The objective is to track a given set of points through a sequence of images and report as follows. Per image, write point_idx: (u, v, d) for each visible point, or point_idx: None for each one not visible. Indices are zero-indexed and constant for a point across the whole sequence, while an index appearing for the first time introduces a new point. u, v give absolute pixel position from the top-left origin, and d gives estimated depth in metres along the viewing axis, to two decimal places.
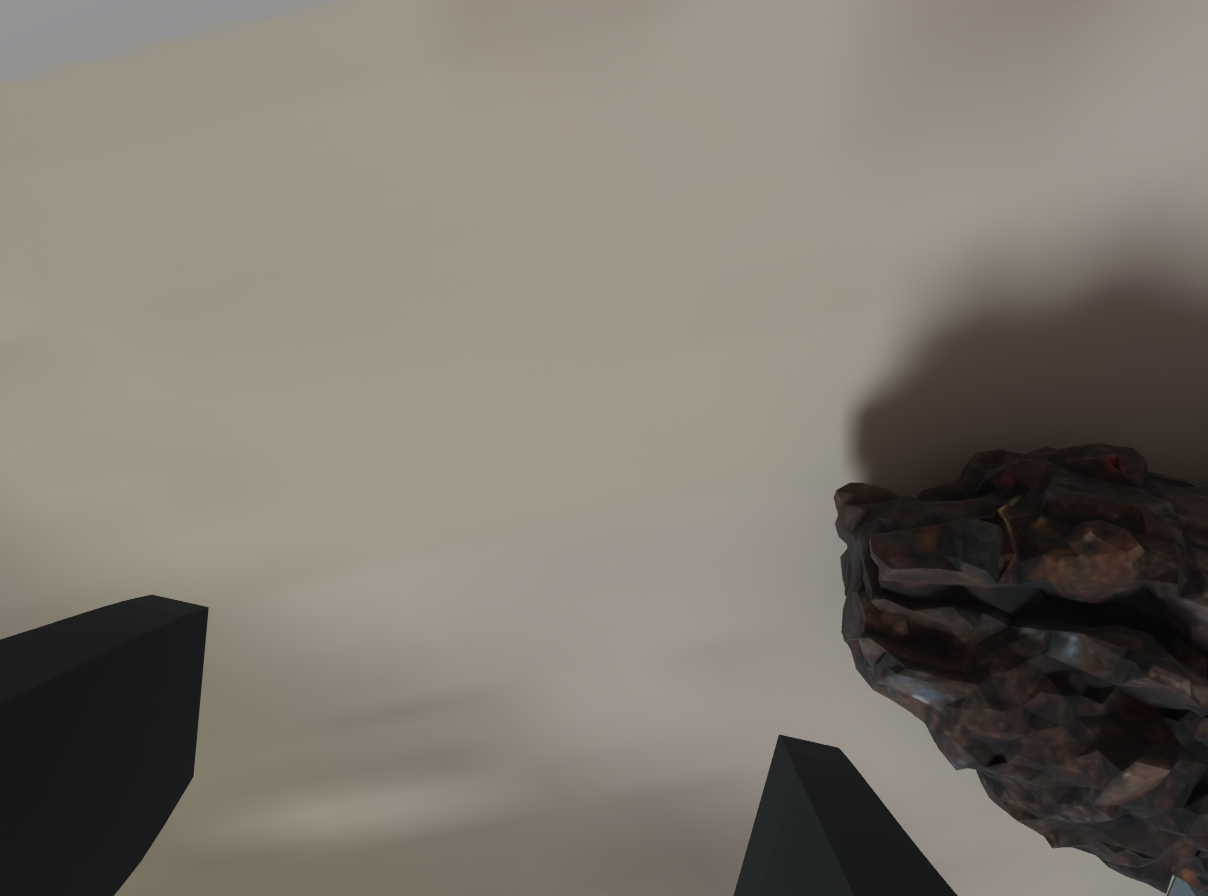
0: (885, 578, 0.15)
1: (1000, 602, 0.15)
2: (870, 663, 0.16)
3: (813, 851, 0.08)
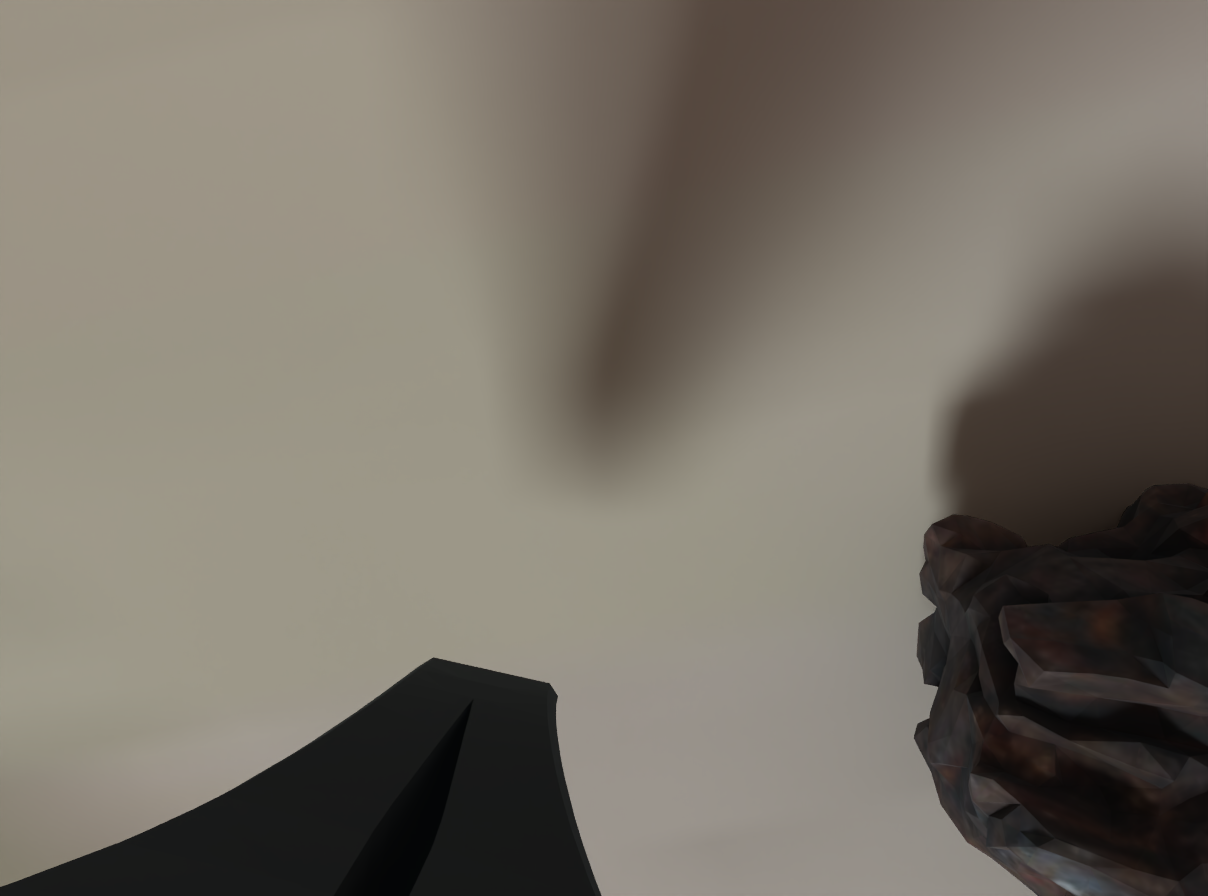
0: (1029, 683, 0.09)
1: None
2: (979, 812, 0.10)
3: None
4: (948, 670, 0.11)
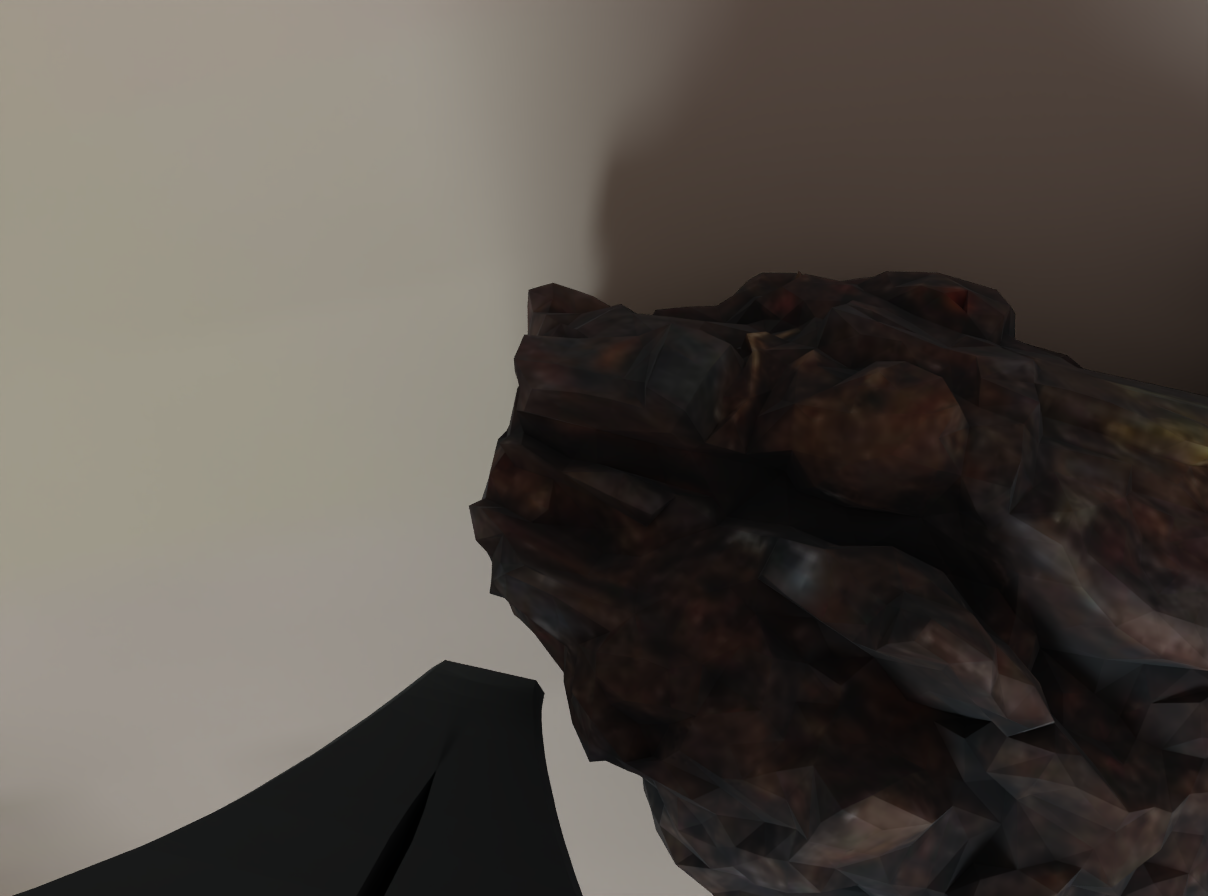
0: (523, 405, 0.09)
1: (711, 483, 0.09)
2: (492, 559, 0.09)
3: None
4: None
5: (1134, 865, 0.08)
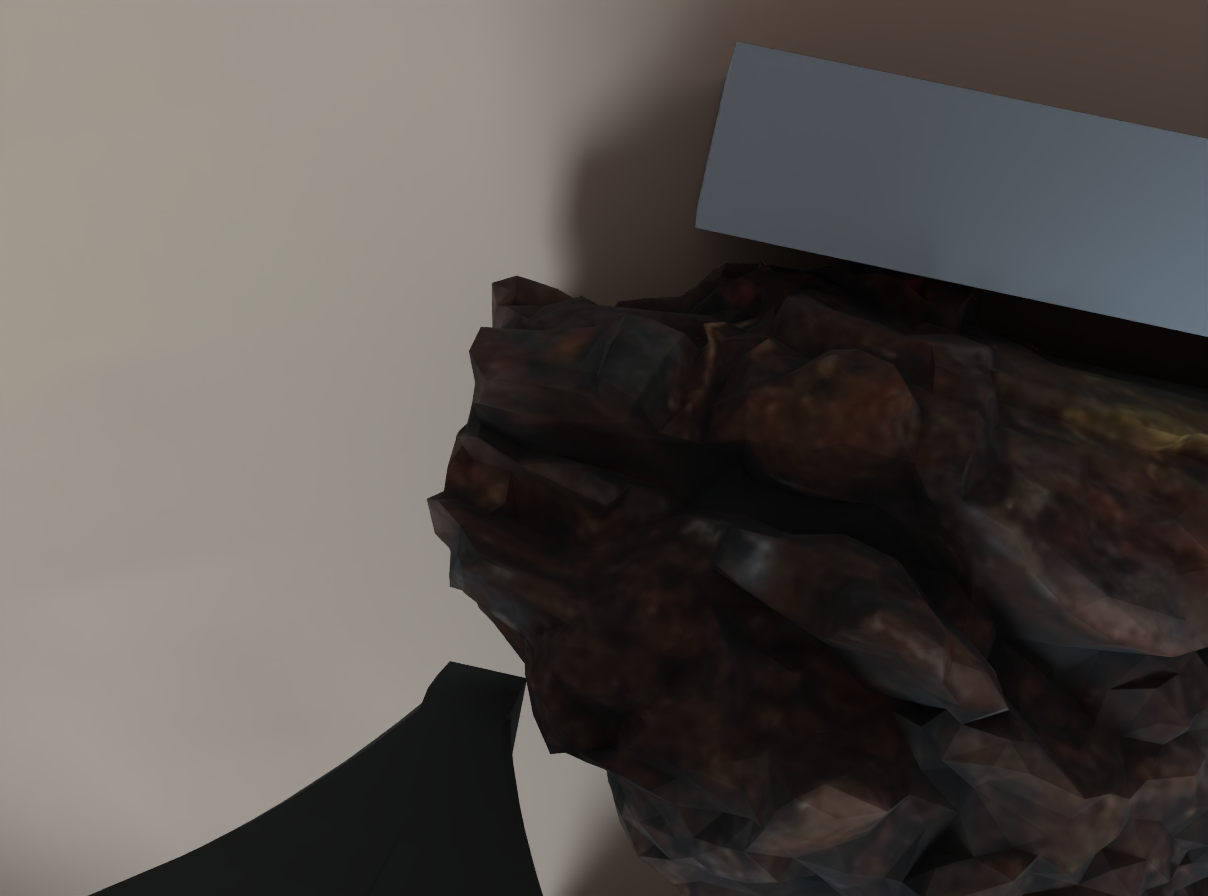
0: (479, 398, 0.09)
1: (666, 473, 0.09)
2: None
3: None
4: None
5: (1094, 852, 0.08)
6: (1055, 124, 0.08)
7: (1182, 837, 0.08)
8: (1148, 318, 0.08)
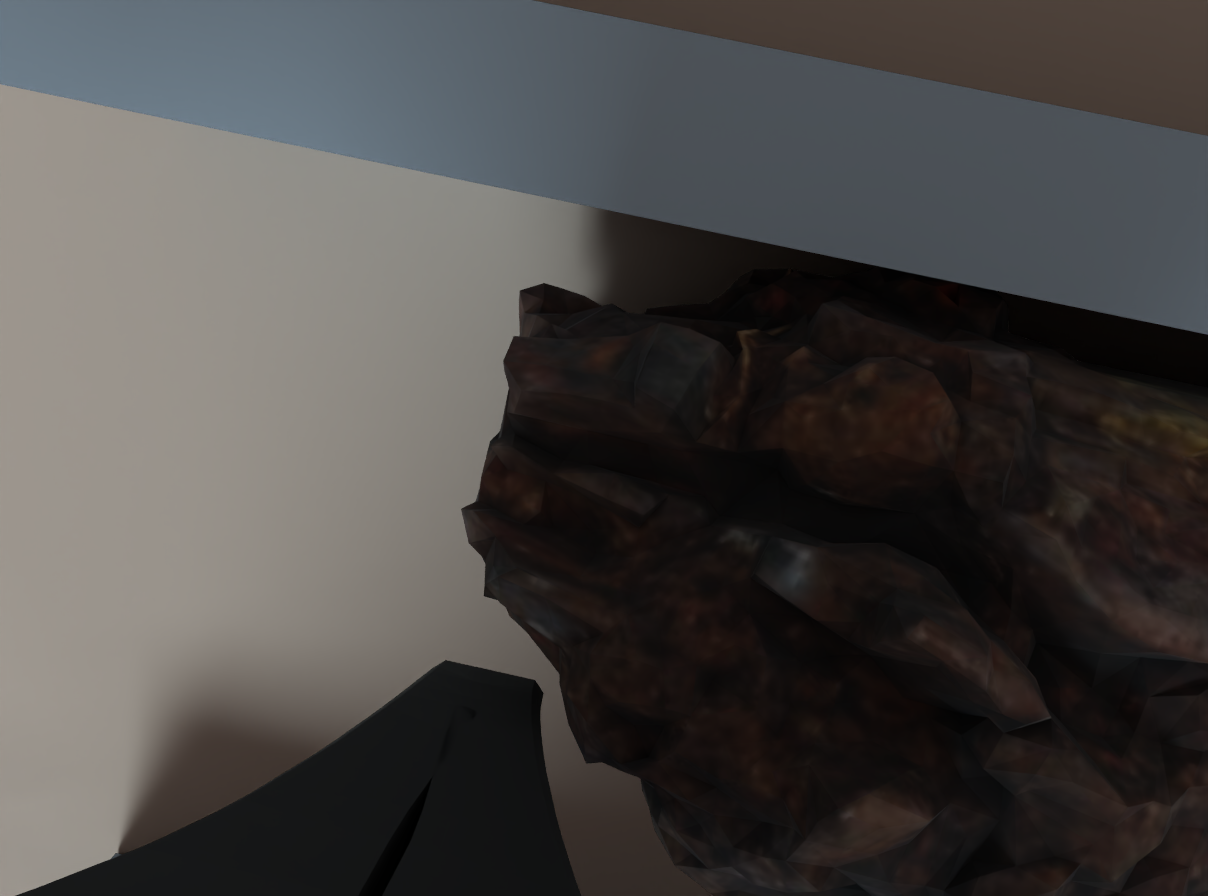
0: (514, 407, 0.09)
1: (703, 482, 0.09)
2: (486, 562, 0.09)
3: None
4: None
5: (1135, 859, 0.08)
6: None
7: None
8: (391, 159, 0.09)
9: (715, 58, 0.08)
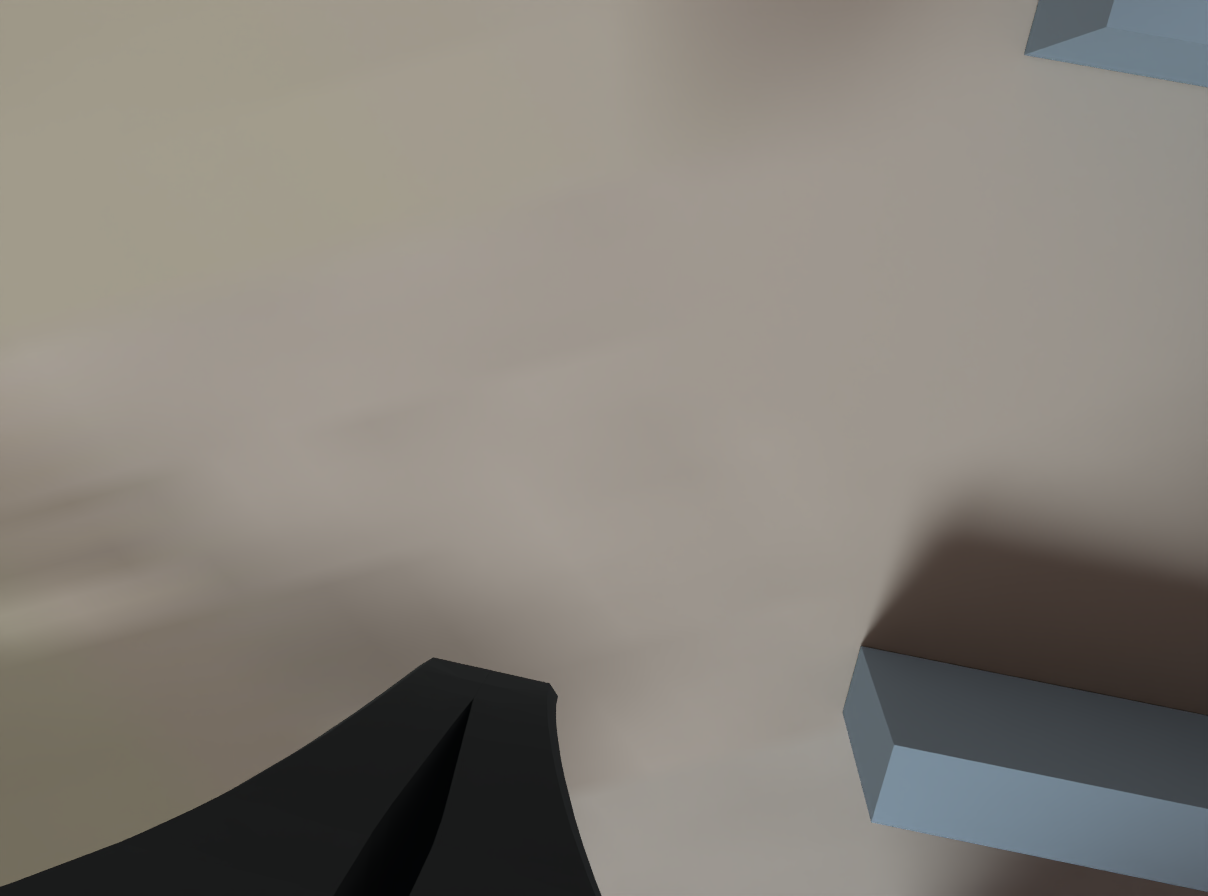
0: None
1: None
2: None
3: None
4: None
5: None
6: None
7: None
8: None
9: None
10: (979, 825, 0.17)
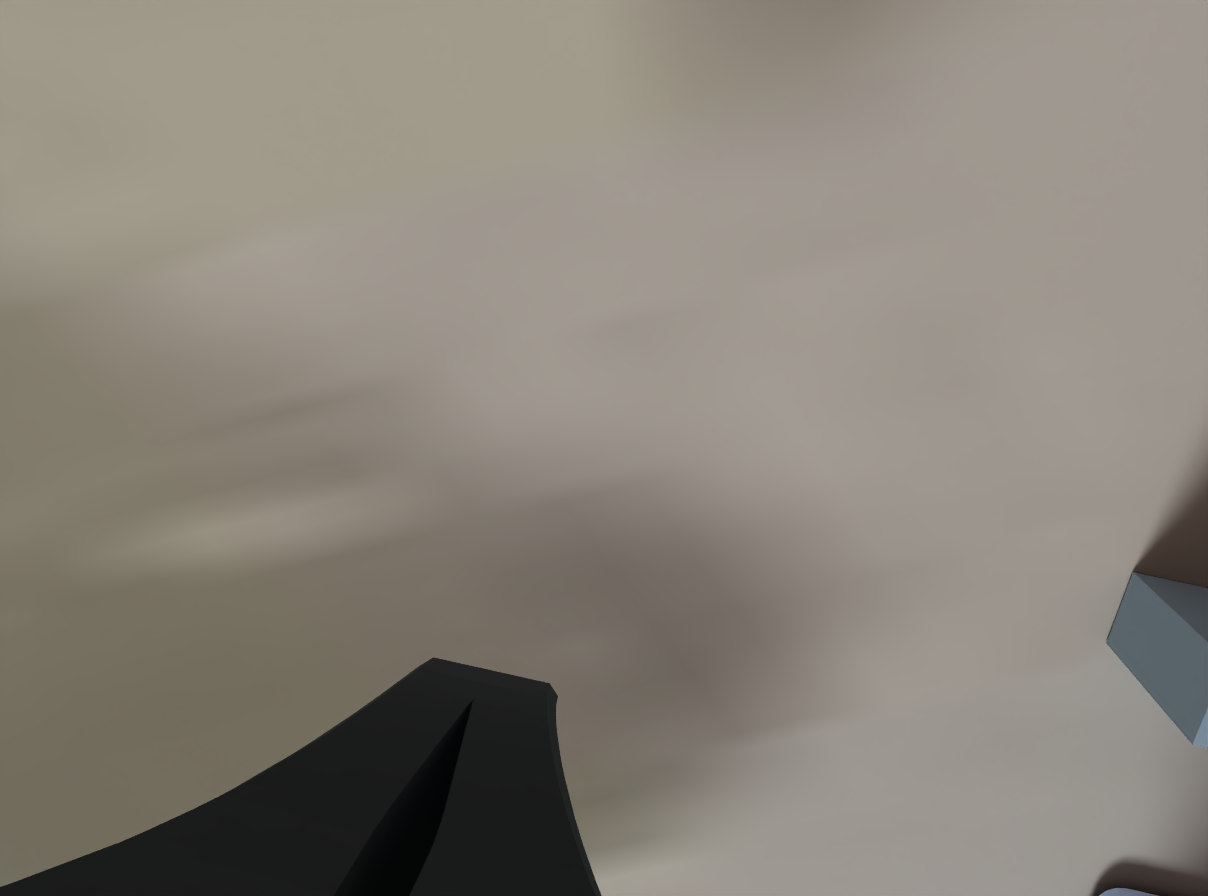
0: None
1: None
2: None
3: None
4: None
5: None
6: None
7: None
8: None
9: None
10: None
